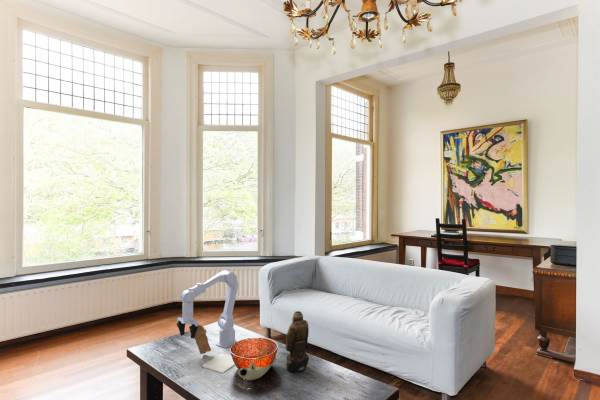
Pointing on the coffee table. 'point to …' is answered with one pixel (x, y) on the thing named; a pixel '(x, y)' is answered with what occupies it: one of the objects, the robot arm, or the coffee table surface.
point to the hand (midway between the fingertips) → (187, 336)
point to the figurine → (202, 340)
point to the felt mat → (220, 363)
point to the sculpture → (297, 344)
